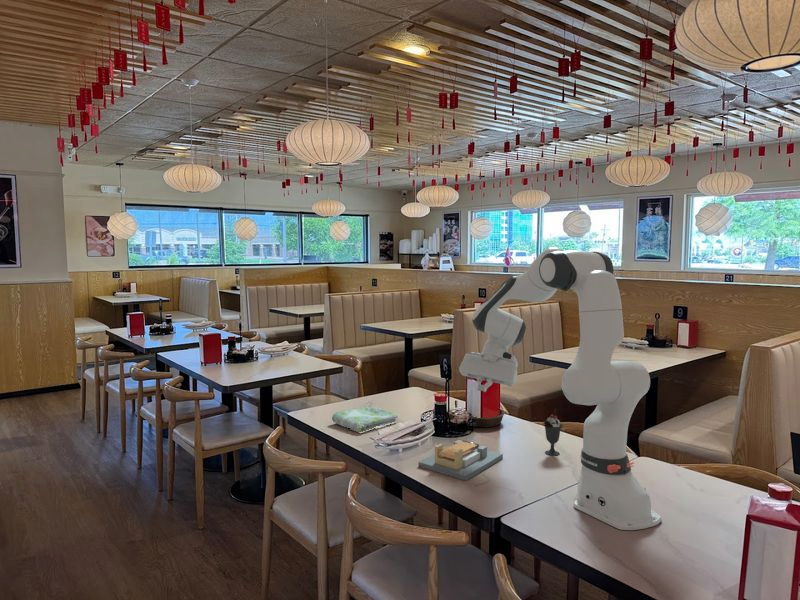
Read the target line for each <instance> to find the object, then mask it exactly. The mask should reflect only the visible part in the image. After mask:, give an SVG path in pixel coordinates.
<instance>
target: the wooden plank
mask: <svg viewBox="0 0 800 600" xmlns="http://www.w3.org/2000/svg"><path fill="white" fill-rule="evenodd" d="M478 447H480V444H479V443H477V442H476V443H475V442H472V441H468V440H461V442H459V443H457V444H455V445H454V444H452V445H450V446H448V447H446V448H443V450H441V451H439V455H440V456H444V457H448V458H451V459H455V451H457V450H459V449H462V450H463V455H465V454H467V453H469V452H471V451H473V450H475V449H477V448H478Z"/></svg>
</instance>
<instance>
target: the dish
mask: <svg viewBox="0 0 800 600" xmlns="http://www.w3.org/2000/svg"><path fill="white" fill-rule="evenodd" d="M463 409H466V407H464V408H463ZM499 409H500V414H499V416H496V417H490V418H477V417H472V420H473V427H477V428H491V427H495V426H498V425H500V424H501V423H502V421H503V418H504V415H505V414H506V413H505V410H503V409H502V408H499ZM473 427H472V428H473Z"/></svg>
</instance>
